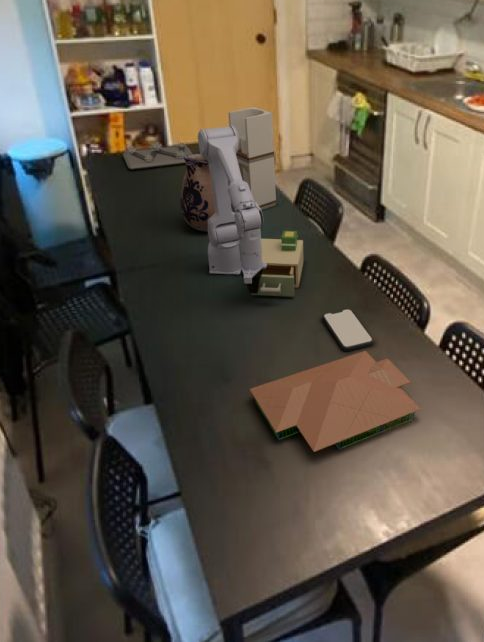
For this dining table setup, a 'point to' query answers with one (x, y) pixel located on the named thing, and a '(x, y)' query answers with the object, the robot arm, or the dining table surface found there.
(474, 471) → the dining table surface
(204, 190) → the ceramic pitcher
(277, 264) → the cabinet
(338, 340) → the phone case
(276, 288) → the drawer
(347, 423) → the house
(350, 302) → the dining table surface
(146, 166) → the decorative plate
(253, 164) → the gray hollow column
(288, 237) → the green box
